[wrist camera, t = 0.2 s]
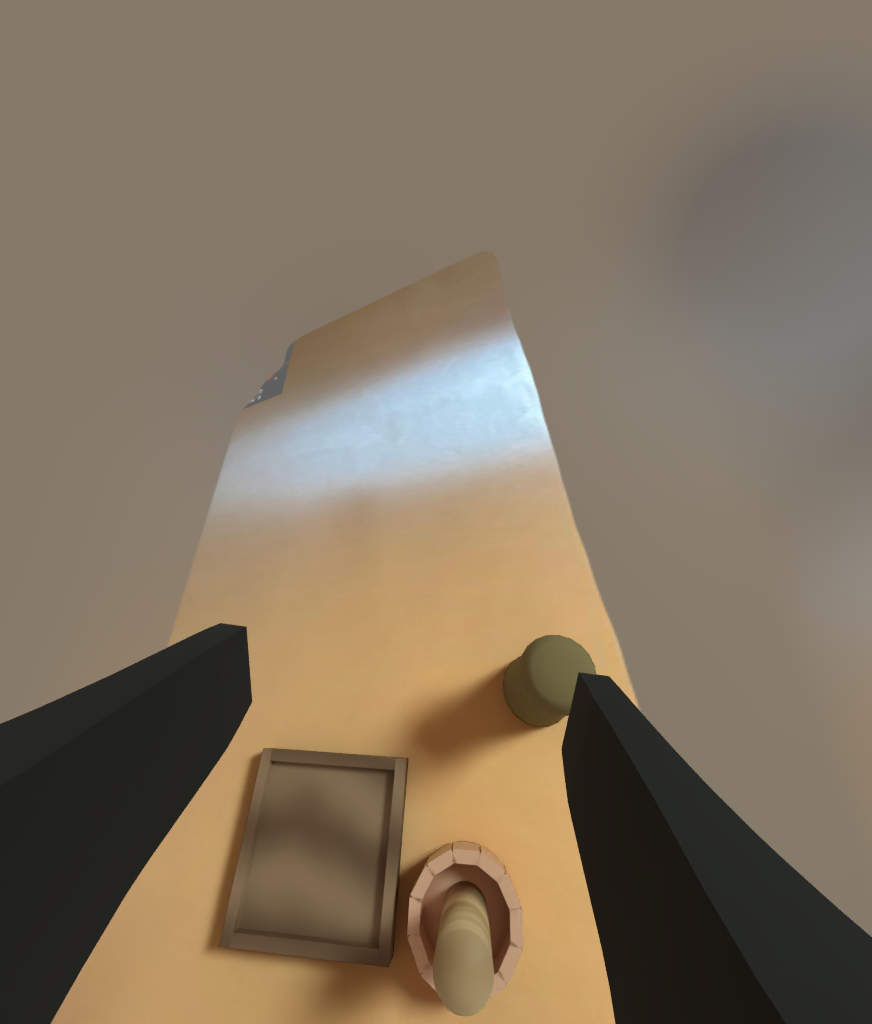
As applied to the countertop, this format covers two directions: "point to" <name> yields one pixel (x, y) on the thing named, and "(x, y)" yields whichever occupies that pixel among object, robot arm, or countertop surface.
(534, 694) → the olive green pawn
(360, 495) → the countertop surface
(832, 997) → the robot arm
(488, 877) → the pink round piece
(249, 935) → the walnut tray
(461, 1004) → the dowel pin
